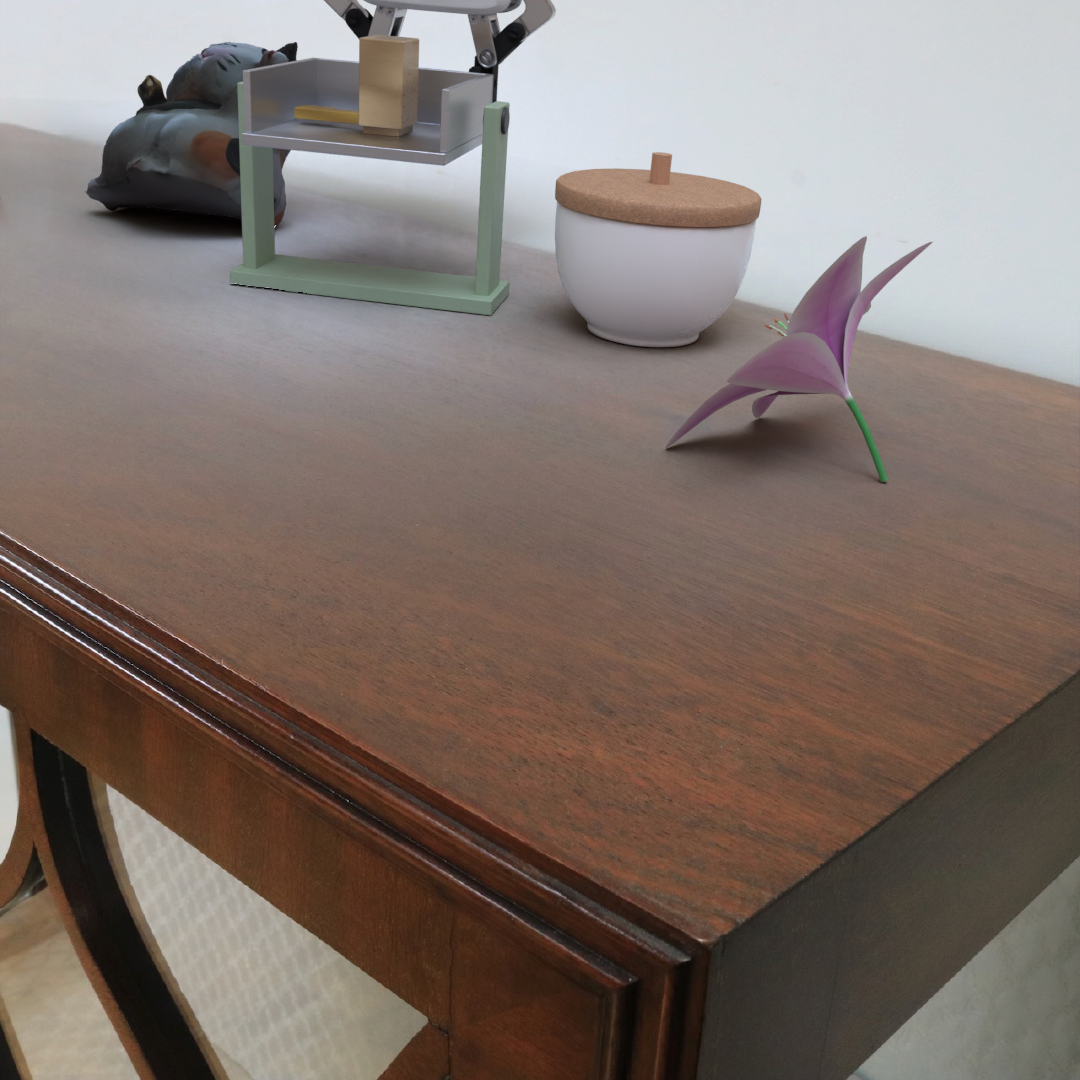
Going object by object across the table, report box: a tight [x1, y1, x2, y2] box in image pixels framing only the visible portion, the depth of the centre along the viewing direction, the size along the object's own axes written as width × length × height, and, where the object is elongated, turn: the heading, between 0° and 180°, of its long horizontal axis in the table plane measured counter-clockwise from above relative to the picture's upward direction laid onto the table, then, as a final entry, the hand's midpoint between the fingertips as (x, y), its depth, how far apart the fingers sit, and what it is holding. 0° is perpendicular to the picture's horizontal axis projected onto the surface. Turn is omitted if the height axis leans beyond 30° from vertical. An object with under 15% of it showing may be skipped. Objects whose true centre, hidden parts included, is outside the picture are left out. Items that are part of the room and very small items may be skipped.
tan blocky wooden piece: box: [294, 35, 420, 137], centre depth 67 cm, size 6×3×5 cm, turn 80°
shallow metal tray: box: [242, 57, 494, 167], centre depth 71 cm, size 19×11×4 cm, turn 170°
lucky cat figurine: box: [84, 41, 299, 226], centre depth 83 cm, size 15×12×14 cm
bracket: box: [229, 82, 511, 316], centre depth 69 cm, size 5×15×11 cm, turn 80°
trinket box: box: [554, 151, 762, 348], centre depth 65 cm, size 11×11×9 cm
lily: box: [665, 235, 934, 483], centre depth 50 cm, size 12×12×10 cm
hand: (433, 124), depth 79 cm, fingers closed on shallow metal tray, 5 cm apart
